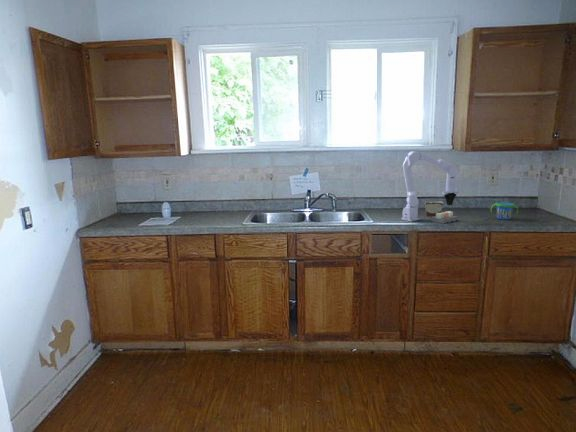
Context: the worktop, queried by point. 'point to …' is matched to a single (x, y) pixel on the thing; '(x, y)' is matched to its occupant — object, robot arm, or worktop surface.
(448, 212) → the key cream
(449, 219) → the key console
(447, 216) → the key terracotta
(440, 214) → the key sage
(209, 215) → the worktop surface
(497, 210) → the snack cup
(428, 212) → the half round cake
